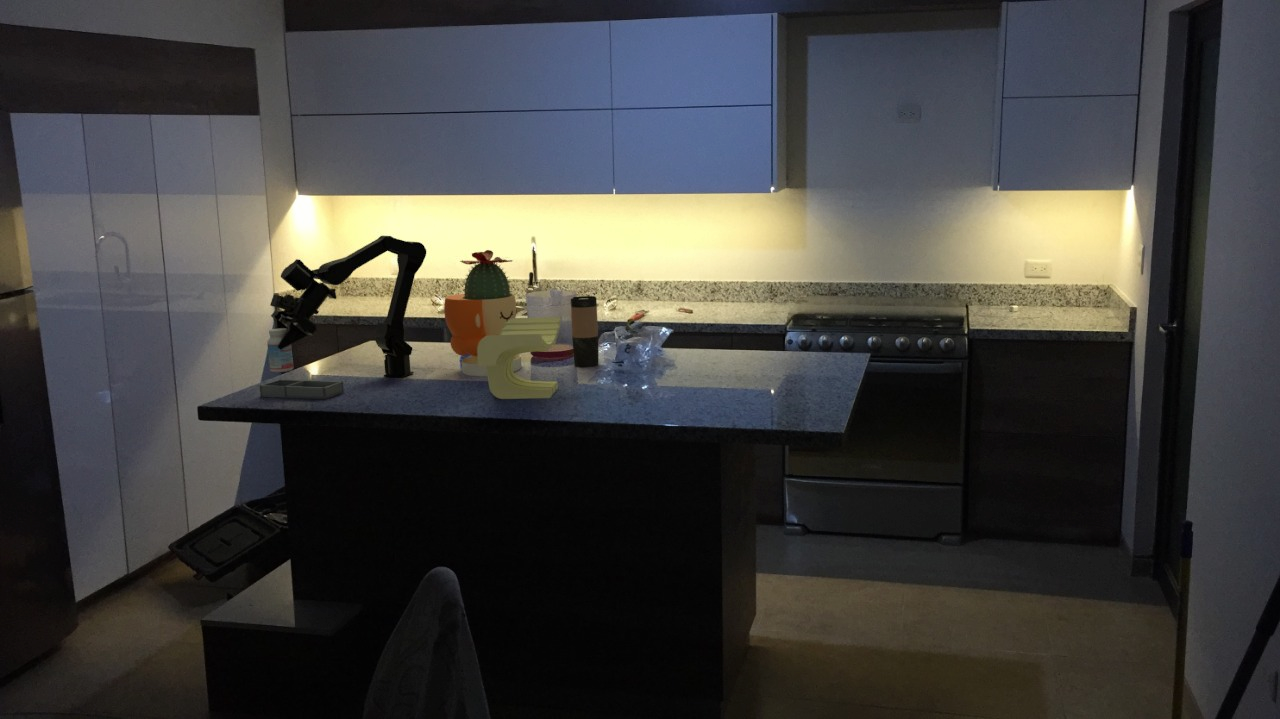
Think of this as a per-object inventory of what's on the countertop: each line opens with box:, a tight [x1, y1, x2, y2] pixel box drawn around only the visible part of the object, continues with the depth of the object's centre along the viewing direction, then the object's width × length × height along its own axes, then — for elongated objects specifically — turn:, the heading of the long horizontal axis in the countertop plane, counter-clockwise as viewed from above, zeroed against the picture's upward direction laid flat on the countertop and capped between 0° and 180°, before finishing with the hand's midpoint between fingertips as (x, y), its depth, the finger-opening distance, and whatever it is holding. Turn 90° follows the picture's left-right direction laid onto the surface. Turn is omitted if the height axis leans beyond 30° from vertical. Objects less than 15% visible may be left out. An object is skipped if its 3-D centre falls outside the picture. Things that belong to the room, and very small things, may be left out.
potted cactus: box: [443, 249, 523, 377], centre depth 321 cm, size 22×22×35 cm
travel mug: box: [570, 295, 599, 368], centre depth 323 cm, size 8×8×20 cm
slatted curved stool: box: [477, 316, 562, 400], centre depth 285 cm, size 30×16×18 cm, turn 175°
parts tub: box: [259, 379, 345, 400], centre depth 295 cm, size 20×8×3 cm, turn 71°
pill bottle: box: [267, 328, 294, 373], centre depth 296 cm, size 6×6×11 cm
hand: (274, 347), depth 295 cm, fingers closed on pill bottle, 6 cm apart
